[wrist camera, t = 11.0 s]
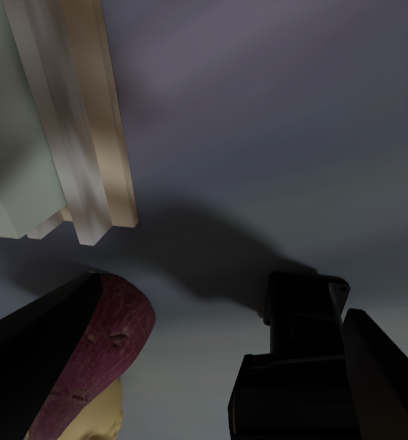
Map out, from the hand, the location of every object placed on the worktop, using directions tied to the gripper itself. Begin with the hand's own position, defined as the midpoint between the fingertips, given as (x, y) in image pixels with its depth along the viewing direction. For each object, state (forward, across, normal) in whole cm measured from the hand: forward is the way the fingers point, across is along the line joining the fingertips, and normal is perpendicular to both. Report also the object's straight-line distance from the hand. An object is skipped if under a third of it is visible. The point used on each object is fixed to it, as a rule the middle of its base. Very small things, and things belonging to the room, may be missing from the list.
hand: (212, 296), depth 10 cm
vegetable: (+12, +14, +17) cm, 25 cm away
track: (+12, +14, -4) cm, 19 cm away
